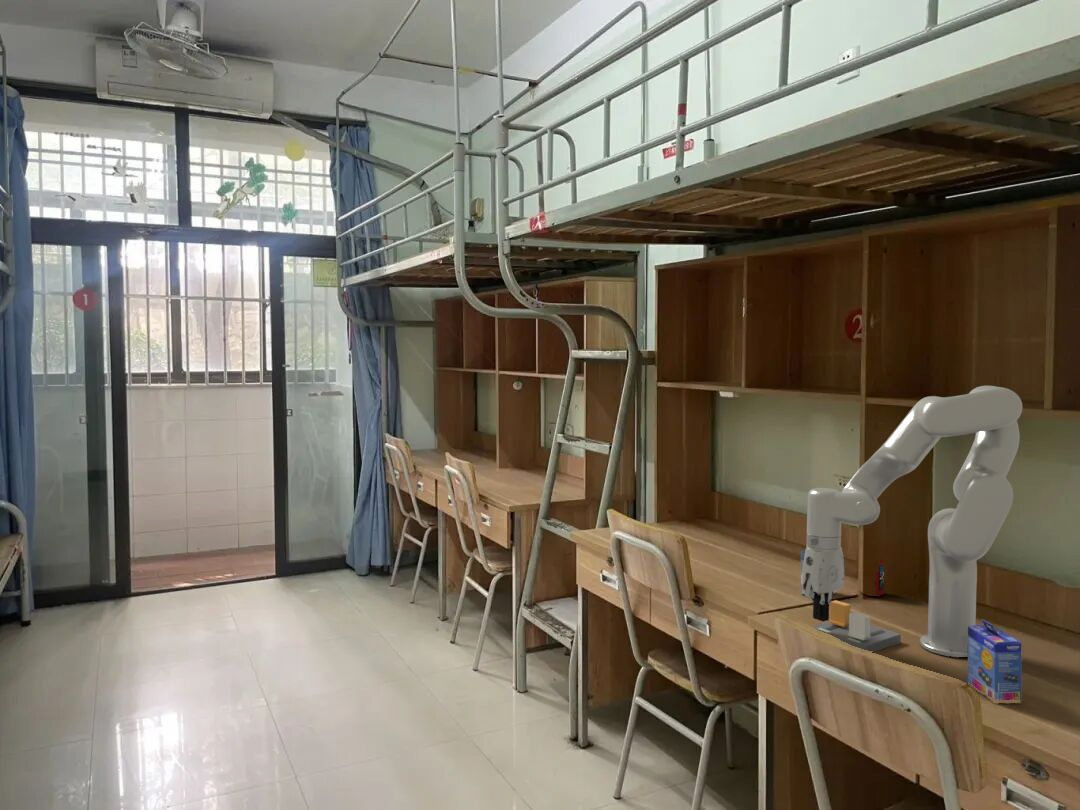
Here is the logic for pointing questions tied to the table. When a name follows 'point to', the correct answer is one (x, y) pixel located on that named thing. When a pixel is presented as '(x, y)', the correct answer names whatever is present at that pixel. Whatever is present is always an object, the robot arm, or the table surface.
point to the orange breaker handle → (839, 613)
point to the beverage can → (879, 580)
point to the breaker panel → (875, 643)
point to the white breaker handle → (859, 626)
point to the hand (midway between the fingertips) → (820, 619)
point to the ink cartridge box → (994, 662)
